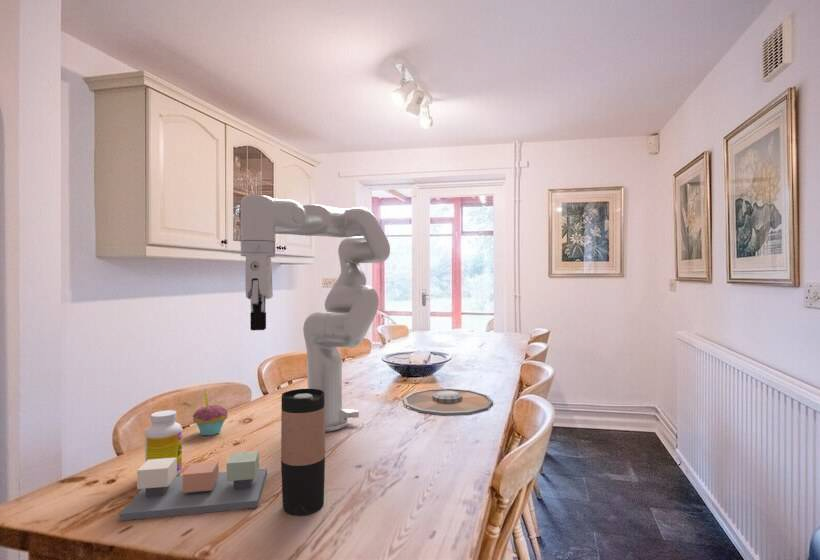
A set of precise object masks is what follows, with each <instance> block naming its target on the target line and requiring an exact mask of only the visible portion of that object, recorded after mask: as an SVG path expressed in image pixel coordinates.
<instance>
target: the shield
mask: <svg viewBox="0 0 820 560" xmlns="http://www.w3.org/2000/svg"><path fill="white" fill-rule="evenodd" d="M402 402H404V403H403V406H404V405H405V406H406V407H409V408H411V409H410V410H412V409H413V410H412V411H414V410H416V411H415V412H417V411H418V413H420V412H423V413H422V414H427V413H431V414H430V415H436V414H438V416H467V415H473V414H476V413H481V412H485V411H488V410H489V409H490V408H491V407H492V405H494V400H492V398H490V397H489V396H488V395H487V394H483V393H480V392H476V391H473V390H466V389H459V388H458V389H457V388H430V389H423V390H418V391H412V392H410V393H409V394H407V395H406V396H405V395H404V397H402ZM405 406H404V407H405ZM490 406H491V407H490ZM406 407H405V408H406ZM489 407H490V408H489ZM409 408H408V409H409ZM488 408H489V409H488ZM480 411H481V412H480Z"/></svg>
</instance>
